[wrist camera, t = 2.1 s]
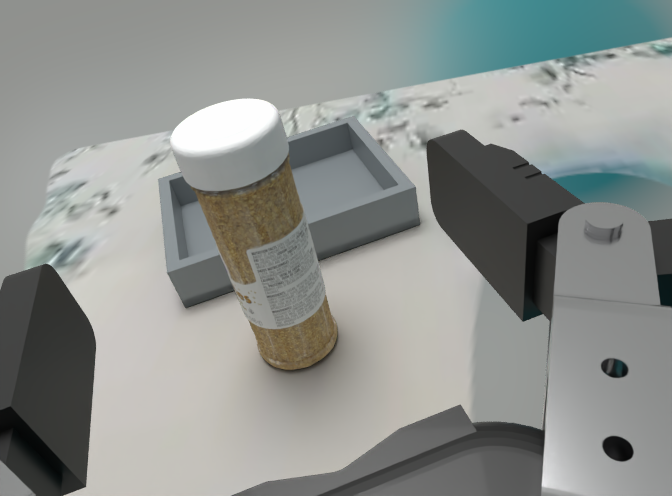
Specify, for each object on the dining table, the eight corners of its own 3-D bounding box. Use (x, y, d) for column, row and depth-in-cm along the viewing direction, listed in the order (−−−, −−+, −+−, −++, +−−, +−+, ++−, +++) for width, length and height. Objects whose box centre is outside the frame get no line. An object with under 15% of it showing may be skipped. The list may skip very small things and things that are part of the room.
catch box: (359, 148, 45) (353, 115, 43) (419, 224, 36) (415, 186, 34) (173, 210, 43) (158, 179, 41) (185, 307, 34) (167, 272, 32)
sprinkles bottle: (249, 332, 31) (157, 120, 23) (320, 299, 32) (258, 84, 24) (275, 388, 28) (178, 163, 19) (354, 349, 29) (294, 119, 20)
